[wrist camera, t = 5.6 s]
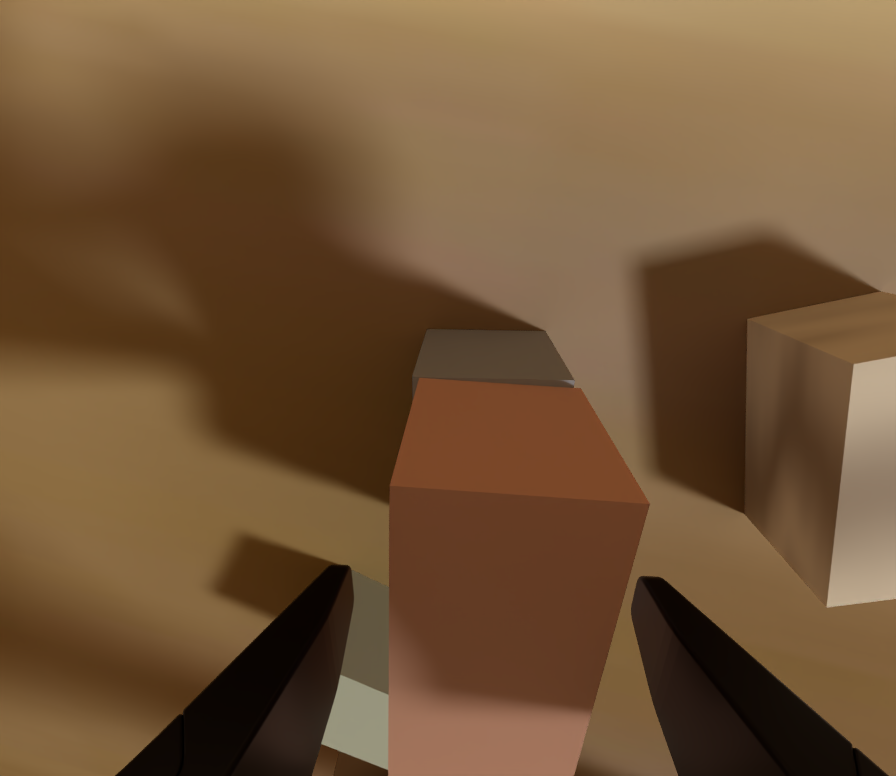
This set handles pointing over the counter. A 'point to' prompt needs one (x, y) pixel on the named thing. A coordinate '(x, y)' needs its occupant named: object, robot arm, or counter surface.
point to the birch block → (826, 443)
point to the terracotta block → (503, 577)
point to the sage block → (364, 678)
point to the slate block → (491, 358)
